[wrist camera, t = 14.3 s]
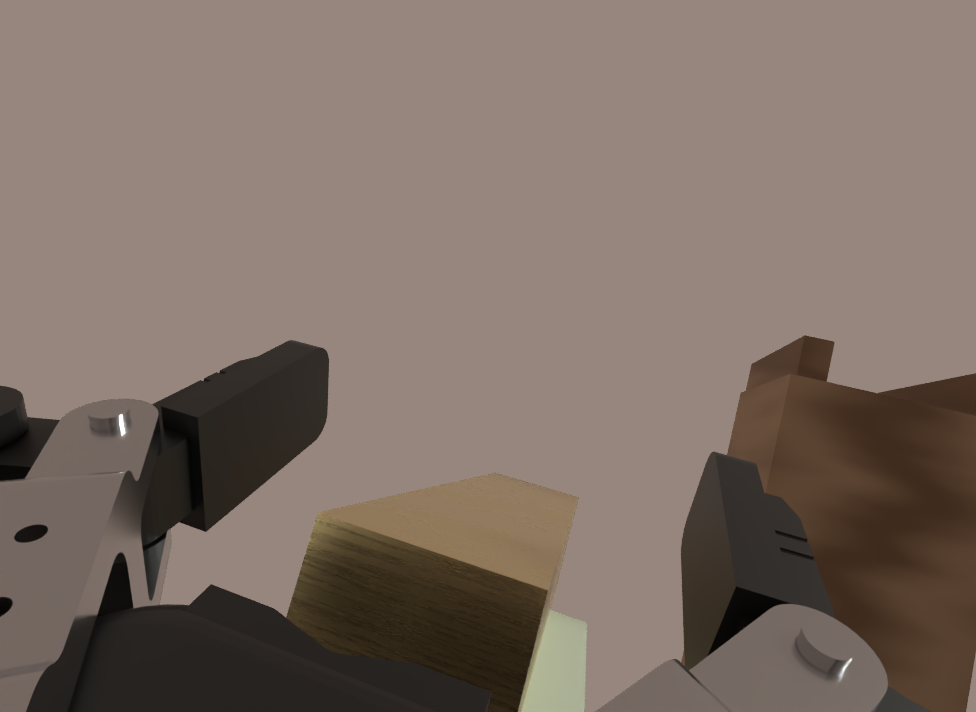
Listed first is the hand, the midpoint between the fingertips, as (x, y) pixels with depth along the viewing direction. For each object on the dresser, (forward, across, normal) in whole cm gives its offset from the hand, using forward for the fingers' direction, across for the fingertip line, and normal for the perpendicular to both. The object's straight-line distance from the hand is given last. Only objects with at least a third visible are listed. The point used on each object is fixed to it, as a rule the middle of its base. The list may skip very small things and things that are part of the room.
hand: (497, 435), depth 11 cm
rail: (+1, 0, +7) cm, 7 cm away
